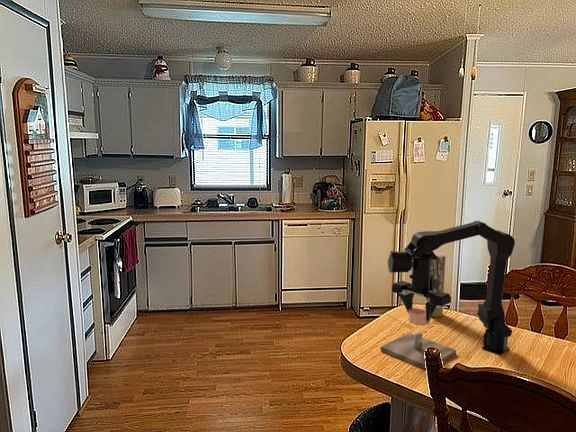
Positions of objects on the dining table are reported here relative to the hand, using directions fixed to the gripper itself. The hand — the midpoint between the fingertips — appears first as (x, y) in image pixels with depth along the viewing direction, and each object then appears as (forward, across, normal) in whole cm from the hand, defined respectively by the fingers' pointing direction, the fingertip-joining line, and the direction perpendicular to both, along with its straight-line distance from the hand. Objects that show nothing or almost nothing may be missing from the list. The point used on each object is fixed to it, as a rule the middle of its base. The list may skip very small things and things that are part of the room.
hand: (419, 317), depth 145 cm
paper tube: (+12, +14, -32) cm, 37 cm away
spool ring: (+1, 0, 0) cm, 1 cm away
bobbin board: (+12, -1, +1) cm, 12 cm away
